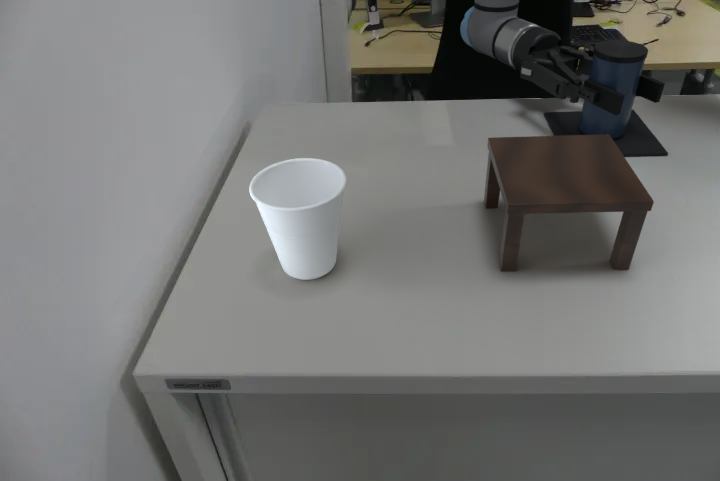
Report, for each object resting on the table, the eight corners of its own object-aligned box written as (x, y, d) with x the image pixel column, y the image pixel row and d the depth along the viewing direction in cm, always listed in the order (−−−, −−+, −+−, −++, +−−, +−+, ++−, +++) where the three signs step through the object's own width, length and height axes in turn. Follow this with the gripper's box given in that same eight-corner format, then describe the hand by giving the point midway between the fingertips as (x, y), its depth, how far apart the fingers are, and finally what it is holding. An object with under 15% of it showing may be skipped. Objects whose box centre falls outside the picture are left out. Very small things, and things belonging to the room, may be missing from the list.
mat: (632, 111, 89) (633, 109, 89) (667, 155, 78) (668, 153, 78) (543, 114, 90) (543, 112, 90) (565, 158, 79) (565, 155, 79)
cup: (250, 285, 61) (231, 202, 55) (286, 232, 69) (273, 153, 62) (336, 301, 59) (327, 215, 52) (363, 243, 66) (358, 162, 59)
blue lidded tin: (617, 117, 86) (637, 39, 79) (633, 138, 81) (656, 56, 73) (572, 118, 86) (588, 40, 79) (584, 140, 81) (603, 58, 74)
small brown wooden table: (593, 197, 71) (609, 133, 65) (631, 270, 60) (654, 201, 54) (481, 200, 72) (488, 137, 66) (499, 272, 61) (508, 204, 55)
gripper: (571, 59, 98) (683, 108, 81) (478, 83, 92) (579, 142, 75) (579, 15, 93) (700, 57, 77) (481, 37, 87) (590, 88, 70)
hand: (640, 99), depth 76 cm, fingers closed on blue lidded tin, 7 cm apart
